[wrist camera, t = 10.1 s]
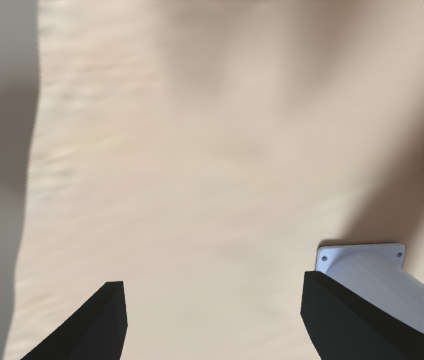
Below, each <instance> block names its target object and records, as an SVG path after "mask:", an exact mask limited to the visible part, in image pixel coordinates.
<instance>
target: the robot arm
mask: <svg viewBox="0 0 424 360" xmlns="http://www.w3.org/2000/svg"><path fill="white" fill-rule="evenodd" d="M404 254H405V246H404V245H402V244H401V243H387V244H365V245H343V246H323V247H321V248H319V250H318V254H317V263H316V271H305V275H304V284H303V294H302V303H301V312H300V314H301V317H302V319H303V322H304V324H305V327H306V329H307V332H308V334H309V336H310V339H311V341H312V343H313V345H314V347H315V348H316V350H317V352H318V354H319V356H320V358H321V359H322V360H424V284H423V283H421V282H420V281H419V280H417V279H416V278H414V277H413V276H412V275H410V274H409V273H407V272H406V271H404V270H403V269H402V263H403V259H404ZM323 256H325V258H323V259H322V257H323ZM127 326H128V323H127V313H126V304H125V295H124V285H123V281H116V282H106V283H105V284H104V285H103V286H102V287H101V288H100V289H99V290H98V291H97V292H96V293H94V294H93V295H92V296H91V297H90V298H89V299H88V300H87V301H86V302H85V303H84V304H83V305H82V306H81V307H80V308H79V309H78V310H77V311H76V312H74V313H73V314H72V315H71V316H70V317H69V318H68V319H67V320H66V321H65V322H64V323H63V324H62V325H60V326H59V327H58V328H57V329H56V330H55V331H53V332H52V333H51V334H50V335H49V336H48V337H46V338H45V339H44V340H43V341H42V342H41V343H40V344H38V345H37V346H36V347H35V348H34V349H33V350H31V351H30V352H29V353H28V354H27V355H25V356H24V357H23V358H22V359H20V360H120V357H121V353H122V349H123V345H124V340H125V336H126V331H127Z"/></svg>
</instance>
